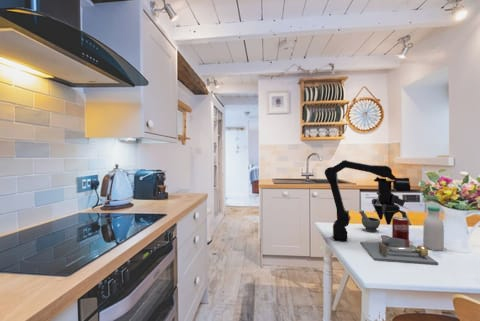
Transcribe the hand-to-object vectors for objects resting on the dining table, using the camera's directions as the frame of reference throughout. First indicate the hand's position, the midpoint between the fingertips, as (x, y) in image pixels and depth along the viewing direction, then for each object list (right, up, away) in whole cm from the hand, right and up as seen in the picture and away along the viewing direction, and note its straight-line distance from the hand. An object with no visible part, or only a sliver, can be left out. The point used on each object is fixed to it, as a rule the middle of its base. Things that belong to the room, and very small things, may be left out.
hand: (384, 221), depth 118 cm
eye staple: (-9, -12, -12) cm, 19 cm away
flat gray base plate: (-1, -12, -9) cm, 15 cm away
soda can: (+13, -12, +7) cm, 19 cm away
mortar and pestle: (+6, -12, +25) cm, 28 cm away
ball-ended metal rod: (+3, -11, -3) cm, 12 cm away
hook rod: (+1, -11, -14) cm, 18 cm away
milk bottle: (+22, -12, -3) cm, 25 cm away
